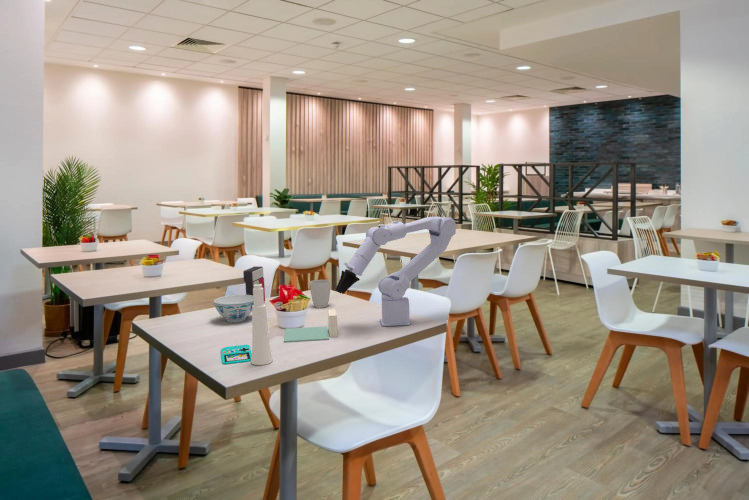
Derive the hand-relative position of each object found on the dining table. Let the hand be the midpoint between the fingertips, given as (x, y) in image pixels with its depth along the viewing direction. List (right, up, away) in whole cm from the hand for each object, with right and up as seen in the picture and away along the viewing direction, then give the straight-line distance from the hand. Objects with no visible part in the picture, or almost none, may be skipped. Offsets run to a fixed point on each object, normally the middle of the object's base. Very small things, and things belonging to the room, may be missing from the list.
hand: (339, 292), depth 179 cm
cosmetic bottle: (-20, -18, -27) cm, 38 cm away
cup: (-10, -9, +36) cm, 39 cm away
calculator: (-36, -9, +41) cm, 56 cm away
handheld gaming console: (-29, -17, -20) cm, 39 cm away
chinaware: (-39, -12, +19) cm, 45 cm away
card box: (-2, -13, -1) cm, 14 cm away
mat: (-11, -14, -2) cm, 17 cm away
